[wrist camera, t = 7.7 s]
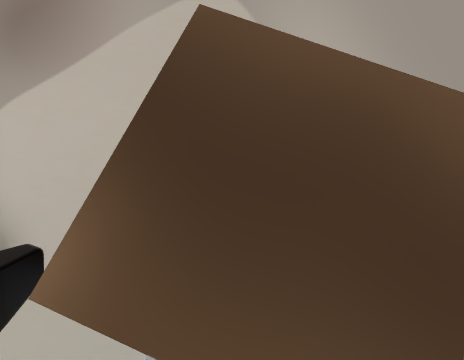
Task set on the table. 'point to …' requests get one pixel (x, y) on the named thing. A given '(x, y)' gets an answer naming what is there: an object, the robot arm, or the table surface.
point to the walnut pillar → (274, 209)
